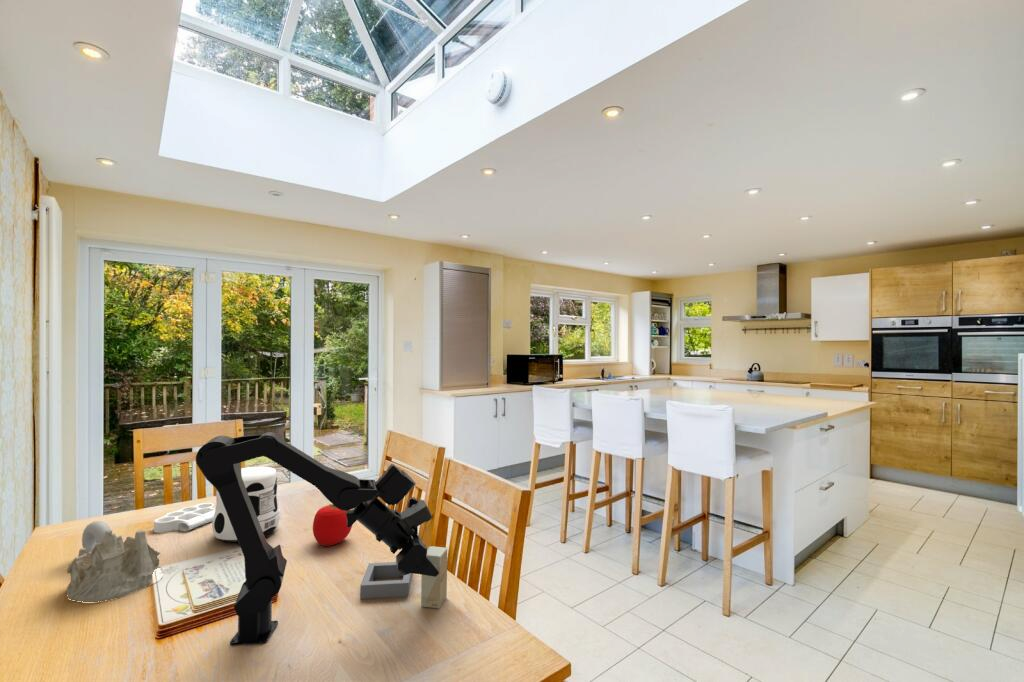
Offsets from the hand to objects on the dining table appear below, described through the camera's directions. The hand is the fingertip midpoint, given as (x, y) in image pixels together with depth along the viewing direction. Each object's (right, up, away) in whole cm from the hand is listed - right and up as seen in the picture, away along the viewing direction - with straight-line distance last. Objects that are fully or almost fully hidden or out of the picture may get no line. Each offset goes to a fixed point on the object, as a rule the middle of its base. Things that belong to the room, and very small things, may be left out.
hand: (433, 564), depth 103 cm
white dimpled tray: (-84, -8, +44) cm, 95 cm away
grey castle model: (-75, -8, +6) cm, 76 cm away
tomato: (-34, -8, +30) cm, 46 cm away
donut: (-90, -8, +18) cm, 92 cm away
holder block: (-12, -8, +7) cm, 16 cm away
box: (0, -8, 0) cm, 8 cm away
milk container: (-61, -8, +35) cm, 70 cm away
